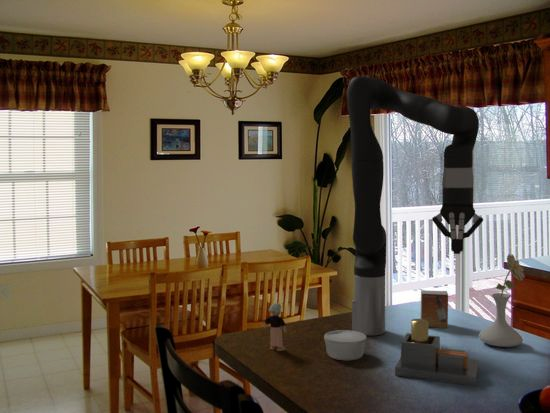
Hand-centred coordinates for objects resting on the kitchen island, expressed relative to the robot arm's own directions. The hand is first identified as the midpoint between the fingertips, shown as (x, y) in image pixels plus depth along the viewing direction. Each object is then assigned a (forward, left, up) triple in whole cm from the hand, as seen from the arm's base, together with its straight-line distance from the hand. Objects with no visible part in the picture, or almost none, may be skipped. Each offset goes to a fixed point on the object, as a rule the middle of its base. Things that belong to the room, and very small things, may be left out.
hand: (456, 253), depth 145 cm
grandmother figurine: (-46, -11, -27) cm, 55 cm away
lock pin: (-1, -13, -25) cm, 28 cm away
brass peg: (-7, -13, -25) cm, 29 cm away
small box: (-9, +28, -27) cm, 40 cm away
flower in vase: (+11, +16, -27) cm, 33 cm away
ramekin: (-27, -9, -27) cm, 39 cm away
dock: (-3, -13, -27) cm, 30 cm away
